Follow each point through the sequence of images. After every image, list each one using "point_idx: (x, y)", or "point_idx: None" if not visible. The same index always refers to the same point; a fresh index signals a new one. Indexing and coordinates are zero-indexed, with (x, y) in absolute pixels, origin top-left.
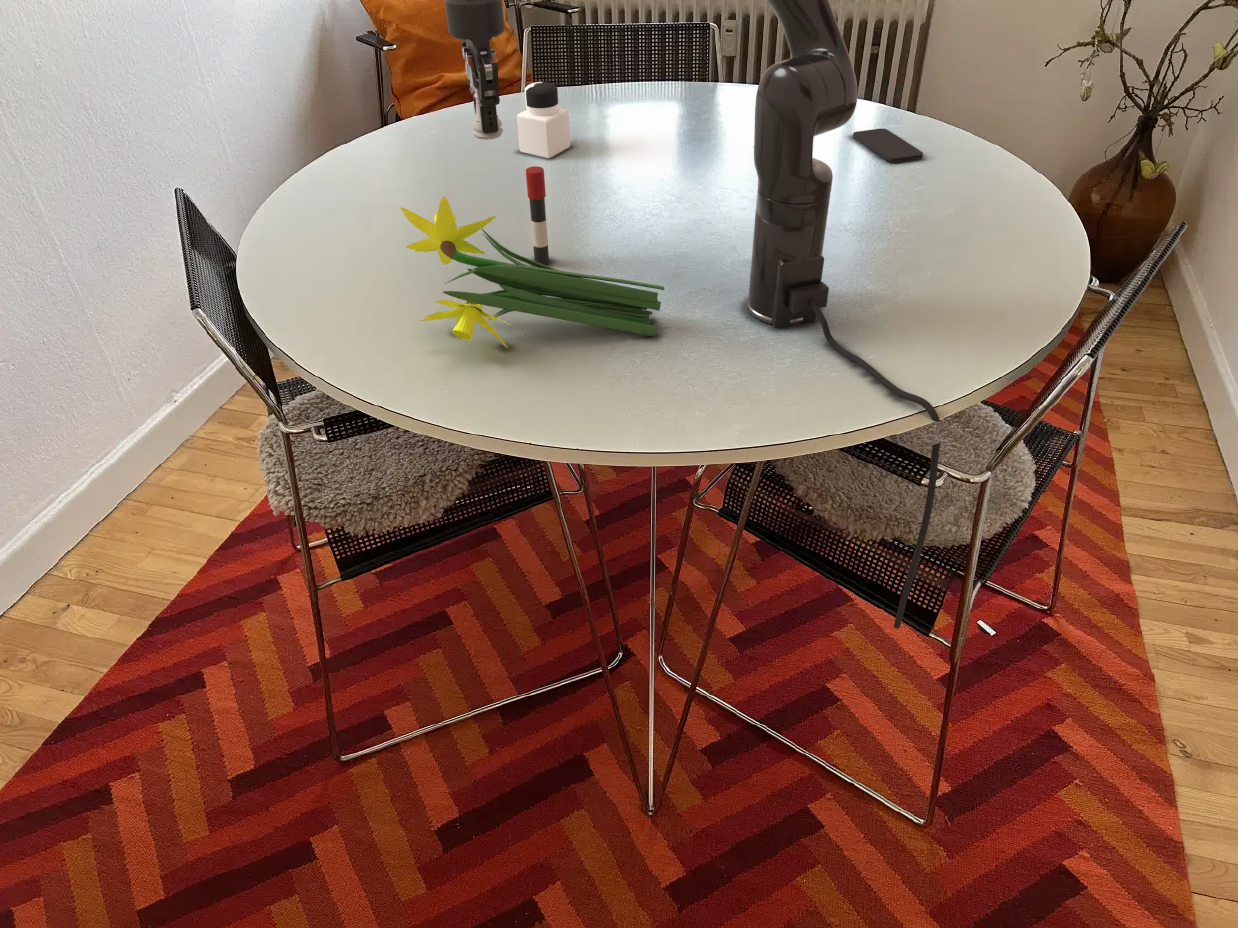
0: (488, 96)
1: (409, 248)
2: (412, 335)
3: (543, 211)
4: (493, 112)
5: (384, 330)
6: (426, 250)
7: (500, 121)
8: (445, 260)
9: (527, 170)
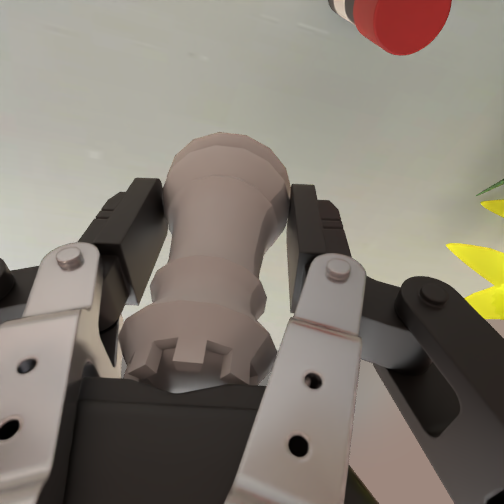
0: (424, 360)
1: None
2: (441, 249)
3: None
4: (346, 253)
5: (407, 271)
6: (480, 295)
7: (242, 162)
8: (469, 253)
9: (401, 47)
